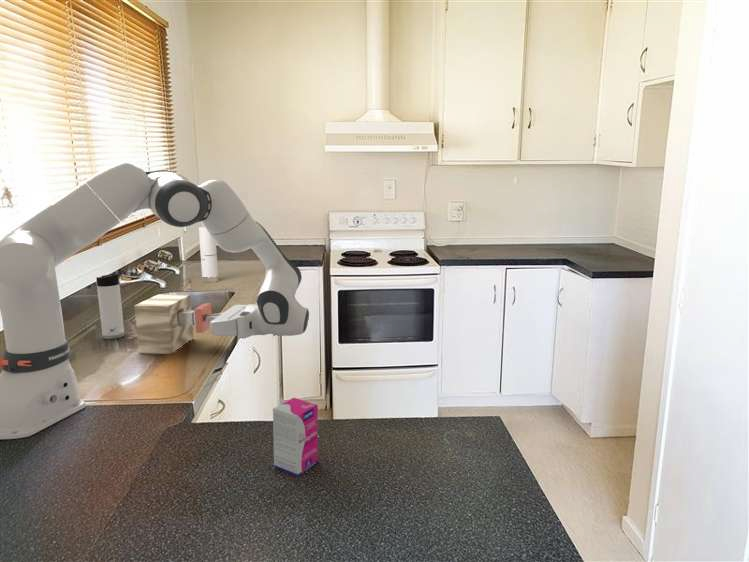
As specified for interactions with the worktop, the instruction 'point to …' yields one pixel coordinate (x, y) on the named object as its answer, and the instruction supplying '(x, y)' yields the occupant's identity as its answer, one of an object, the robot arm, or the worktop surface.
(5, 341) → the robot arm
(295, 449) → the supplement box
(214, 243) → the cylindrical container
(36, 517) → the worktop surface
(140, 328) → the block
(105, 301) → the travel mug
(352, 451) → the worktop surface
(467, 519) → the worktop surface
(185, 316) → the pink-tipped peg
